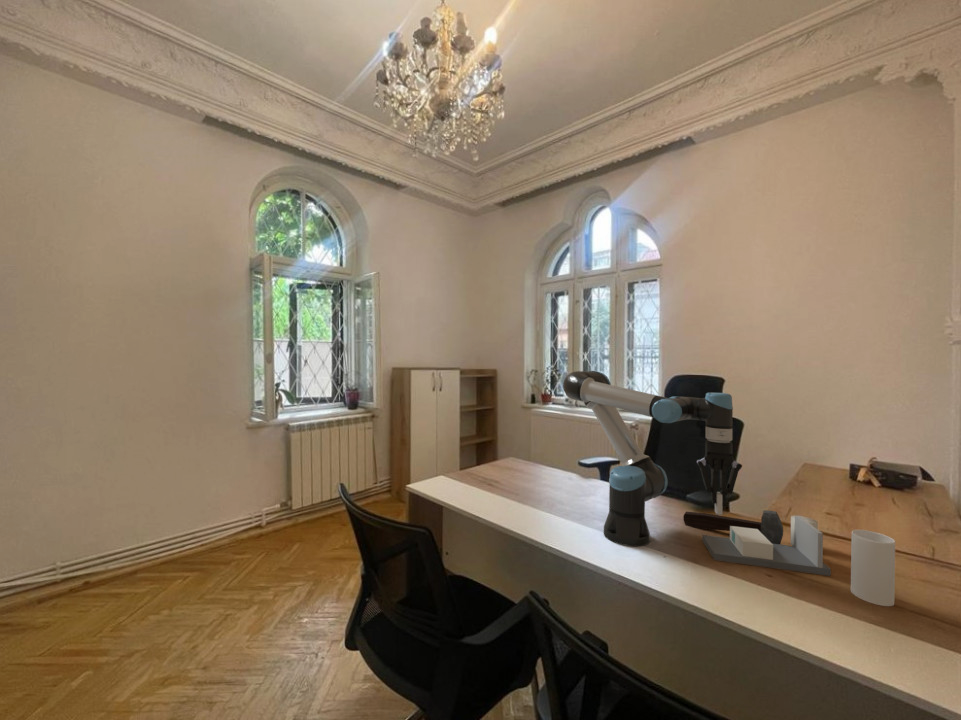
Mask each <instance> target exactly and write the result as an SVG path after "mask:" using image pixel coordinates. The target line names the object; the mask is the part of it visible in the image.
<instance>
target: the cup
mask: <svg viewBox="0 0 961 720" xmlns="http://www.w3.org/2000/svg"><path fill="white" fill-rule="evenodd" d="M850 544H851V546H850V547H851V550H850V553H851V555H850V556H851V557H850V558H851V559H850V560H851V561H850V564H851V565H850V592H851V594H852V595H853V596H855V597H856V598H859V599H861V600H862V601H865V602H867V603H870V604H873V605H877V606H882V607H893V606H894V605H895V589H896V588H895V587H896V586H895V585H896V584H895V583H896V581H895V579H896V541H895V539H894V538H892V537H890V536H889V535H885V534H883V533H879V532H876V531H872V530H866V529H853V530H852V531H851V543H850Z"/></svg>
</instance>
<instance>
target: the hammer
mask: <svg viewBox="0 0 961 720" xmlns="http://www.w3.org/2000/svg"><path fill="white" fill-rule="evenodd" d="M780 518H781V517H780V516H779V513H778V512H777V511H775V510H763V511H762V516H761V521H756V520H751V519H750V520H749V519H744V518H735V517H730V516H724V515H717V514H711V513H706V512H696V511H685V513H683V523H684V525H685V526H686V527H689V528H690V527H691V528H696V529H700V530H701V529H702V530H715V531H725V532H726V531H727V532H730V526H735V527H744V528H752V529H758V530H759V531H760V532H761V533H762V534H763V535H764V536H765V537H766V538H767V539H768V540H769V541H770V542H771V543H773V544H781V543H782V541H783V540H782V539H783V537H784V526H783V523H782V520H781V519H780ZM781 545H782V544H781Z"/></svg>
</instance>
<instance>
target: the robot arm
mask: <svg viewBox="0 0 961 720" xmlns="http://www.w3.org/2000/svg"><path fill="white" fill-rule="evenodd" d="M562 388H563V392H564V393H565V395H566V396H567V397H568V398H570V399H571V400H573V401H578V402H583V403H584V405H585V407H586V408H587V409H589V410H592V413H594V414H593V415H594V416H595V417H596V419H597V421H598V422H599V424H600V426H601V428H602V430H603V432H604V433H605V435H606V437H607V440H608V441H609V442H610V444H611V446H612V448H613V449H614V451H615V453H616V455H617V457H618V458H619V460H620V462H621V465H619V466H615V467H614V468H613V469H611V471H610V473H609V479H608V482H609V483H608V484H609V493H608V494H609V500H608V501H609V502H608V505H609V509H608V514H607V516H606V520H605V523H604V524H603V537H604V536H605V538H606V539H607V540H609V541H612V542H613V543H616V544H619V545H622V546H628V547H630V546H631V547H641V546H643V547H644V546H646V545H647V544H649V543H650V542H651V541H650V540H651V537H650V536H651V534H650V530H649V527H648V524H647V519H646V515H645V514H646V512H645V511H646V502H648V501H650V500H652V499H656V498H657V497H659V496H661V495H662V494H663V493H665V491H666V489H667V488H668V482H669V481H668V477H667V473H666V471H665V470H664V469H663V468H662V466H660V465H658V464H656V463H654V461H653V460H652V458H651V457H650V456H649V455H646V454H644V453H643V451H642V450H641V448H640V446H639V444H638V443H637V441H636V440H635V438H634V436H633V435H632V433H631V431H630V430H629V427H628V426H627V424H626V423H625V421H624V420H623V417H622V416H621V414H620V413H619V411H618V409H619V410H623V411H627V412H631V413H634V414H639V415H643V416H645V417H649V418H653V419H655V420H656V421H658V422H659V423H663V424H672V423H675V422H680V421H685V420H692V421H701V422H704V421H705V452H704V455H703V458H701V459H696V465H698V467H699V469H700V470H699V471H700V474H701V477H702V481H703V485H704V488H705V490H706V491H707V492H710V494H711V503H712V504H714V513H715V515H719V516H723V505H726V504H727V499H726V498H727V495H728V494H732V493H733V492H734V488H735V485H736V480H737V478H738V474H739V471H740V470H741V469H742V467H743V465H742V464H741V463H739V462H738V461H736V460H735V458H734V456H733V443H732V441H733V411H734V410H733V409H734V407H733V396H732V395H731V394H730V393H727V392H706V393H705V397H701V398H700V397H691V396H681V395H679V396H674V395H673V396H671V397H666V396H661V395H656V394H652V393H649V392H643V391H639V390H635V389H631V388H626V387H622V386H621V387H620V386H616V385H611V380H610V378H609V377H608V376H607V375H606V374H604V373H603V372H601V371H597V370H590V371H589V370H588V371H587V370H586V371H581V370H580V371H579V370H578V371H576V370H575V371H572V372H570V373H568V374H567V375H566V377H565V378H564V379H563V383H562ZM706 465H708V466H709V468H710V479H709V476H708V472H707V469H706ZM730 466H731V470H730V473H729V477H728V480H727V473H728V469H729V467H730ZM718 473H719V491H718Z"/></svg>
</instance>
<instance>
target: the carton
mask: <svg viewBox="0 0 961 720" xmlns="http://www.w3.org/2000/svg"><path fill="white" fill-rule="evenodd" d="M729 538H730V540H731V542H732V543H733V544H734V545H735V547H736V548H737V549H738V551H739V552H740V553H741V554H742V556H747V557H755V558H762V559H770V560H773V544H772V543H771V542H770V541H769V540H768V539H767V538H766V537H765V536H764V535H763V534H762V533H761V532H760V531H759V530H758V529H752V528H744V527H735V526H730V531H729Z"/></svg>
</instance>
